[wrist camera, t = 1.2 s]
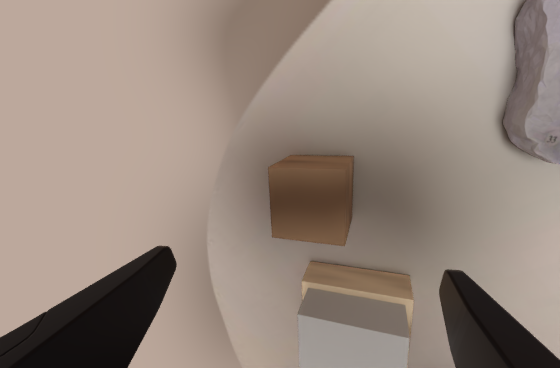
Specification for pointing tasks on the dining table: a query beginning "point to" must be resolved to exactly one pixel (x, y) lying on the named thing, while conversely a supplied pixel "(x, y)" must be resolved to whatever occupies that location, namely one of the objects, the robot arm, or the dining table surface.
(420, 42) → the dining table surface
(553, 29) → the stone block
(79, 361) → the robot arm
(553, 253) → the dining table surface
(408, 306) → the beech base block
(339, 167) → the walnut cube
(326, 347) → the grey block
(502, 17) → the dining table surface
